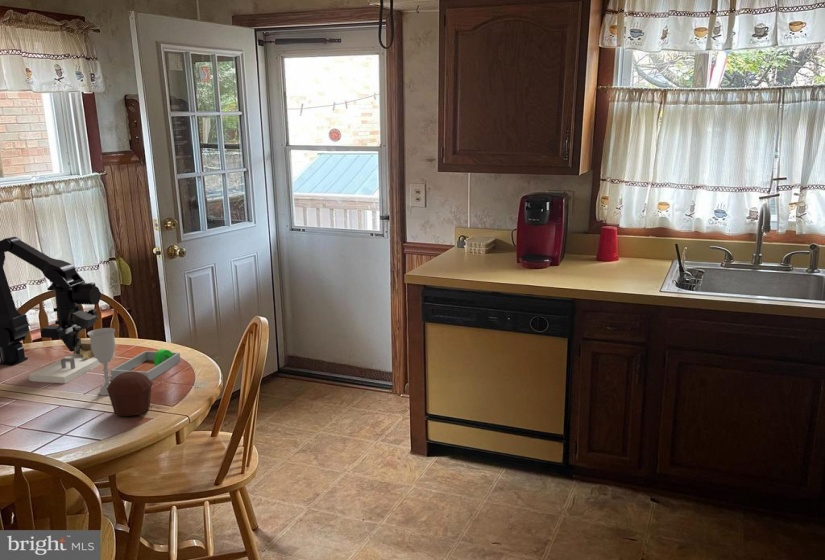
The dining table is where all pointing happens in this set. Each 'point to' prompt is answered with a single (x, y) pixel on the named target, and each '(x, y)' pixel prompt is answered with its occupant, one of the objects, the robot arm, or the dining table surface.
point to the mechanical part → (161, 354)
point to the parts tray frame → (143, 357)
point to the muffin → (130, 393)
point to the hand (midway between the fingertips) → (72, 351)
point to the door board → (67, 367)
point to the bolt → (82, 352)
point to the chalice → (103, 351)
